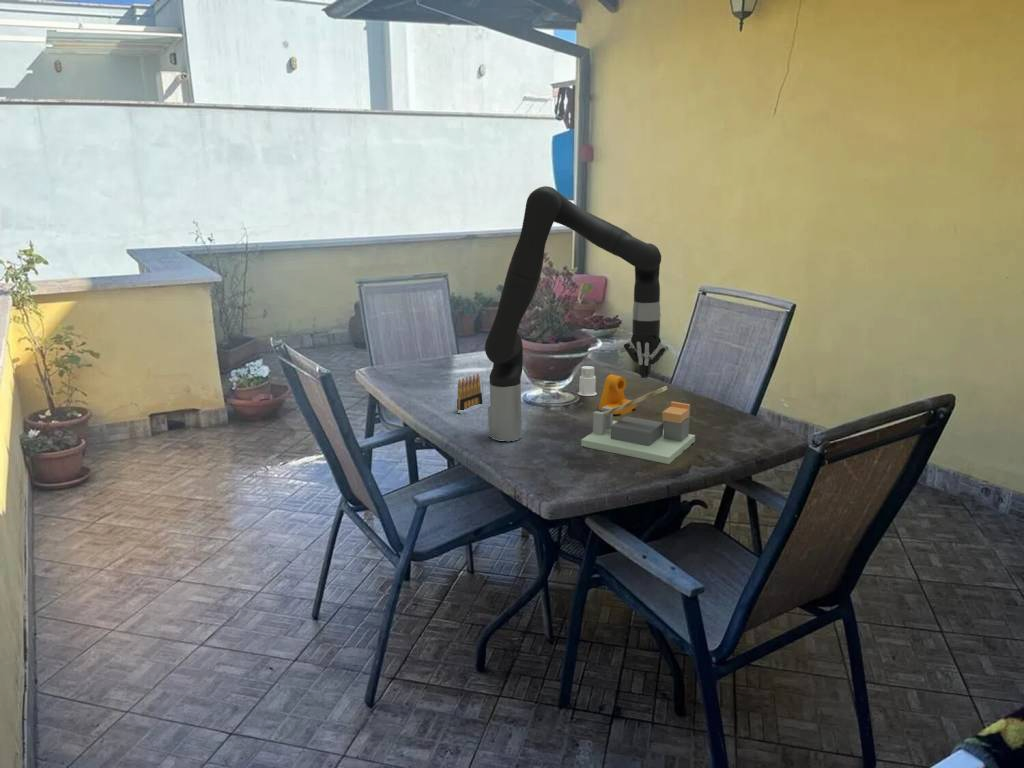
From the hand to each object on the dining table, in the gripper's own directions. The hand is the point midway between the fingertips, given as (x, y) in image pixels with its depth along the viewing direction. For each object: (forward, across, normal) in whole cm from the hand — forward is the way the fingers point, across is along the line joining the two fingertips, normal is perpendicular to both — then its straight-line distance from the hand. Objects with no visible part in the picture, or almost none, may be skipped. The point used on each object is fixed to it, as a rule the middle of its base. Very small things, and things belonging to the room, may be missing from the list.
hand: (644, 377), depth 203 cm
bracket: (+21, -20, +25) cm, 38 cm away
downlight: (+20, -38, +37) cm, 57 cm away
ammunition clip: (+20, -64, +1) cm, 67 cm away
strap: (+9, -3, 0) cm, 10 cm away
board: (+20, -2, 0) cm, 21 cm away
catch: (+12, +8, +5) cm, 16 cm away
